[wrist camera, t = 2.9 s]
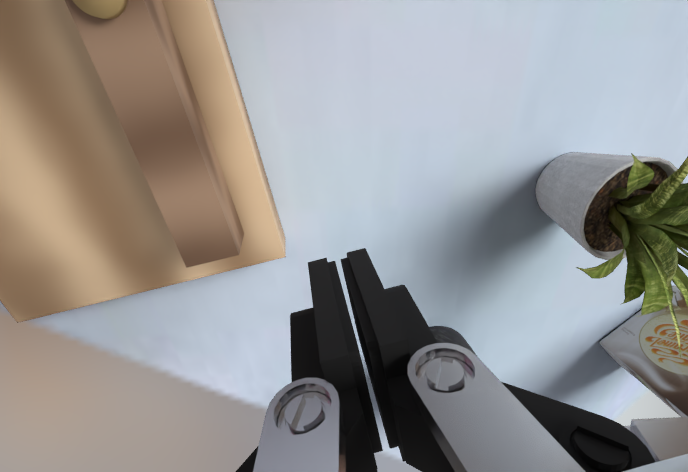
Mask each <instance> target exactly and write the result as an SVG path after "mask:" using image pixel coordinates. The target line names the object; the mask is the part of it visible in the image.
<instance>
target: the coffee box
mask: <svg viewBox="0 0 688 472" xmlns="http://www.w3.org/2000/svg"><path fill="white" fill-rule="evenodd" d="M672 290H673V298H672V305H673V309H674V313H675V316H676V319H677V322H678V326H679V330H680V349H681V358H680V352H679V346H678V339H677V334H676V329H675V325H674V322H673V319H672V315H671V312H670V308H669V305H668V306H666V307H665V308H663V309H662V310H660V311H657V312H653V313H650V314H646V315H642V316H641V311H639V312H638V313H637V314H635V315H634V316H633V317H631V318H630V319H629V320H627V321H626V322H625V323H623V324H622V325H621V326H620V327H618V328H617V329H616V330H614V331H613V332H612V333H610V334H609V335H608V336H606V337H605V338H604V339H602V340H601V341H600V342H599V343H600V345H601V346H602V347H603V348H604V349H605V350H606V351H607V352H608V354H609V355H610V356H611V357H612V358H613V359H614V360H615V361H616V362H617V363H618V364H619V365H620V366H621V367H623V368H624V369H625V370H627V371H628V372H629V373H630V374H632V375H633V376H634V377H635V378H637V379H638V380H639V381H640V382H641V383H642V384H644V385H645V386H646V387H647V388H648V389H649V390H651V391H652V392H653V393H654V394H655V395H656V396H657V397H659V398H660V399H661V400H662V401H663V402H664V403H666V404H667V405H668V406H669V407H670V408H671V409H673V410H674V411H675V412H676V413H677V414H679V415H680V416H681V417H688V306H687V304H686V301H685V298H684V296H683V294H682V293H681V292H680V290H679V289H678V288H677V286H672Z"/></svg>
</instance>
